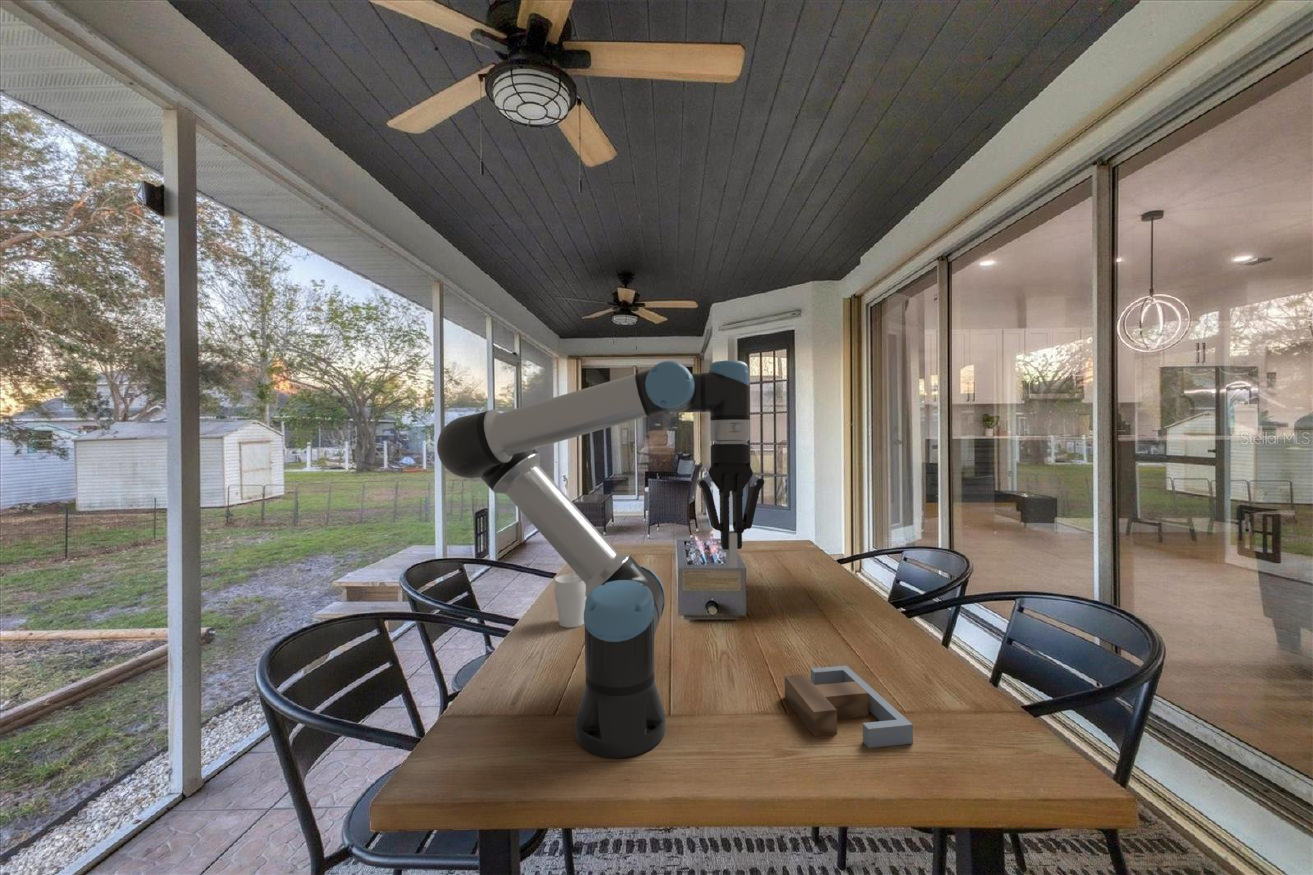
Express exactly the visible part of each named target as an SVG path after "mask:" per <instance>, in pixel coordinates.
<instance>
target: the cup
mask: <svg viewBox="0 0 1313 875" xmlns="http://www.w3.org/2000/svg"><path fill="white" fill-rule="evenodd" d="M585 592H586V585H585V583H584V581H583V580H582V579H581V578H580V577H579V576H578V575H577V574H576V573H565V574H561V575H558V576H556V577H555V579H554V596H555V605H556V609H557V610H556V611H557V616H558V617H557V618H558V622H559V623H558V624H559V625H560V626H561V627H562V628H566V629H567V628H568V629H571V628H572V629H573V628H578V627H581V626H583V625H585V624H584V609H585V601H586V598H587V597H586V596H585Z"/></svg>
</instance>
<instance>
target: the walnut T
mask: <svg viewBox="0 0 1313 875" xmlns="http://www.w3.org/2000/svg"><path fill="white" fill-rule="evenodd" d="M784 698H785V700H786V701H787V700H788V701H787V702H788V703H789V705H790V706H791V708H792V709H793V710H794V712H795V713H796V714H797V716H798V717H799V716H800V717H799V718H800V719H801V721H802V720H803V721H804V722H803V721H802V722H803V724H804V725H805V724H806V725H807V726H806V725H805V726H806V728H807V729H808V728H809V729H810V730H809V729H808V730H809V731H810V732H812V733H811V735H813V737H819V736H821V737H822V736H833V735H837V734H838V719H837V718H839V719H846V718H845V717H849V718H854V717H853V716H859V717H867V716H866V715H868V716H869V710H868V692H867V691H865V690H864V689H863V688H862V687H861V686H860V685H859V684H858V683H857V682H856V681H855V682H844V683H832V684H821V685H814V684H813V683H812V682H811V679H810V678H809V677H808V676H807V675H806V674H803V673H802V674H792V675H784Z"/></svg>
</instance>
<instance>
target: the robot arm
mask: <svg viewBox="0 0 1313 875" xmlns="http://www.w3.org/2000/svg"><path fill="white" fill-rule="evenodd" d="M749 370H750V369H749V366H748V364H747V363H746V362H744V361H742V360H734V359H731V360H729V359H727V360H722V361H721V360H719V361H715V362H714V361H713V362H711V363H710V365H709V369H708V371H707V372H702V373H701V372H700V373H691V371H690V370H689V369H688V368H687V367H686V366H685V365H684V364H682V363H680V362H677V361H674V360H665V361H661V362H659V363H657V364H655V365H654V366H653V367H652V368H651V369H647V370H644V371H640V372H639V373H634V374H631V375H628V376H627V375H626V376H623V377H620V378H617V379H613V380H609V381H606V382H603V383H599V384H596V385H592V386H589V387H585V388H581V389H579V390H576V391H572V392H569V393H564V394H562V395H558V396H555V397H552V398H547V399H544V400H541V401H538V402H533V403H530V404H527V405H523V406H520V407H517V408H514V409H510V410H507V411H502V412H500V411H498V410H496V409H490V410H486V411H481V412H478V413H474V414H469V415H464V416H460V417H457V418H455V419H453V420H451V421H450V422H448V423H447V424H446V425H445V426H444V427H443V429H442V430H441V431H440V434H439V436H438V439H437V444H436V451H437V455H438V458H439V461H440V462H441V464H442V465H443V467H444V468H445V469H446V470H448V471H449V472H450V473H451V474H453V475H454V476H458V477H459V478H465V479H477V478H480V479H481V480H482V481H484V483H485V485H487V487H489V489H490V490H491V491H492V492H493V494H501V495H502V494H504V495H506V496H507V497H508V498H509V499H510V500H511V502H513V504H514V505H515V506H516V507H517V509H519V510H520V511H521V513H522V514H523V515H524V516H525V517H526V519H528V521H529V522H530V523H531V524H532V525H533V526H534V527H535V528H536V530H537V531H538V532H539V533H540V534H541V535H542V536H543V538H544V539H545V540H546V541H547V542H548V544H549V545H550V546H552V548H554V550H555V551H556V552H557V553H558V554H559V555H560V557H561V558H562V559H563V560H564V561H565V562H566V563H567V564H568V566H569V567H570V568H571V569H572V570H573V571H574V573H575V574H577V575H578V576H579V577H580V578H581V579H582V580H583V581H584V583H585V585H586V592H585V596H586V597H587V598H586V601H585V609H584V624H583V625H584V656H585V657H584V662H585V664H584V665H585V668H584V670H585V686H584V689H583V693H582V696H581V699H580V701H579V702H580V703H579V705H578V709H577V712H576V716H575V739H576V741H577V743H578V744H579V745H580V747H582V748H583V750H586V751H587V752H589V753H590V754H593V755H596V756H599V757H604V758H612V759H614V758H615V759H622V758H629V757H634V756H638V755H641V754H644V753H646V752H648V751H650V750H652V749H653V748H655V747H656V746H657V745H658V744H659V743H660V742H661V741H662V740H663V738H664V736H665V733H666V713H665V712H666V711H665V708H664V706H663V702H662V699H661V697H660V694H659V691H658V688H657V685H656V681H655V678H656V677H655V635H656V633H657V629H658V626H659V623H660V620H661V617H662V616H663V613H664V609H665V605H666V604H665V602H666V600H665V599H666V598H665V596H666V594H665V588H664V586H663V583H662V581H661V579H660V578H659V575H657V574H656V573H655V572H654V571H653V570H651V569H649V568H648V567H645V566H640V564H639V563H637V561H636V560H635V559H634V558H633V557H632V555H630V554H629V553H620V552H617V551H616V550H615V548H614V547H613V546H612V544H610V543H609V541H607V540H606V538H605V537H604V536H603V535H602V534H601V533H600V532H599V530H597V528H596V527H595V526H594V525H593V524H592V523H591V521H589V519H588V518H587V517H586V516H585V515H584V513H582V511H580V509H579V508H578V507H577V506H576V505H575V504H574V502H573V501H572V500H571V499H570V498H569V497H568V496H567V495H566V494H565V493H564V491H563V490H562V489H561V488H560V487H559V485H557V483H556V482H555V481H553V479H552V478H551V477H550V476H549V475H548V474H547V472H546V471H545V470H544V469H543V468H542V467H541V465H540V463H541V462H540V461H541V460H540V459H541V455H540V453H539V452H538V451H537V450H536V449H537V448H538V449H539V448H542V447H544V446H548V445H549V446H550V445H552V444H556V443H559V442H563V441H566V440H569V439H574V438H577V437H579V436H584V435H587V434H591V433H594V432H597V431H601V430H605V429H609V428H612V427H615V426H619V425H622V424H626V423H630V422H632V421H633V422H634V421H636V420H640V419H643V418H646V417H650V416H656V415H659V414H666V415H667V414H670V413H671V414H675V413H679V414H680V413H707V412H709V415H710V417H709V418H710V422H709V426H710V428H709V429H710V430H709V431H710V441H711V442H713V443H712V444H711V445H710V467H709V469H708V472H707V475H706V476H703V478H702V479H701V478H700V479H697V481H696V484H697V485H698V488H700V490H701V491H702V495H703V500H704V503H705V506H706V511H707V515H708V519H709V523H710V524H709V525H710V527H711V528H712V529H713V530H715V531H718V532H720V547H721V549H723V550H724V551H725V565H726V566H727V567H728V568H730V569H736V568H737V569H738V550H739V549H740V550H741V549H742V547H743V533H744V532H745V531H746V530H749V529H751V528H752V526H753V523H754V518H755V513H756V509H757V505H758V504H757V503H758V500H759V495H760V491H761V489H762V488H763V486H764V484H765V480H764V479H763V478H760V477H759V476H757V475H755V474H754V471H753V469H752V467H751V445H750V444H749V443H748V441H750V440H751V420H750V418H751V417H750V415H751V411H750V409H751V396H750V394H751V392H750V391H751V390H750V388H751V384H750V373H749V372H750V371H749ZM748 482H749V485H750V487H749V488H748V492H747V493H748V494H747V498H746V502H745V506H744V510H743V497H744V489H745V488H746V486H747V484H748ZM712 483H713V484H714V486H715V487H716V489H717V490H718V495H719V515H718V512H717V508H716V504H715V500H714V495H713V492H712V489H711V487H712ZM731 496H732V498H731V499H732V528H733V529H732V530H730V497H731Z"/></svg>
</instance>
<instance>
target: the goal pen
mask: <svg viewBox="0 0 1313 875" xmlns="http://www.w3.org/2000/svg"><path fill="white" fill-rule="evenodd" d="M810 681H811V682H812V683H813V684H814V685H821V684H832V683H844V682H855V681H856V682H857V683H858V684H859V685H860V686H861V687H862V688H863V689H864V690H865V691H867V692H868V712H870V713H871V714H872V715H873V716H874V717H875V718H876V719H877V720H878V721H870V722H862V743H864V745H865V746H866V747H867V748H868V749H873V748H883V747H892V746H899V745H909V744H914V727H913V726H914V724H913V723H912V722H911V721H910V720H908V719H907V718H906V717H905V716H904V715H903V714H902V713H900V712H899V711H898V710H897V709H896V708H895V706H893V705H891V704H890V703H889V702H888V701H887V700H886V699H885V698H884V697H882V696H881V694H879V693H878V692H877V691H876V690H875V689H873V688H872V686H870V685H869V684H868V683H867V682H866V681H864V679H862V678H861V677H860V676H859V675H858V674H857V673H856V672H855V671H853V670H852V669H851V668H850V667H849V666H848V665H838V666H825V667H824V666H823V667H814V668H813V667H812V668H810Z"/></svg>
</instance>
